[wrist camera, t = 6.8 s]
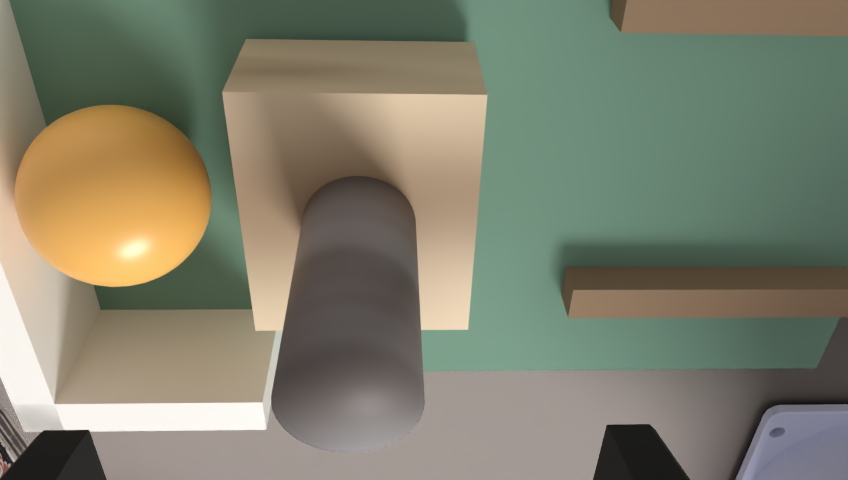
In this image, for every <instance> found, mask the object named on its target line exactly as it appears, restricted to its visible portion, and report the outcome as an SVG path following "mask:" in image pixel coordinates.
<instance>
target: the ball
mask: <svg viewBox="0 0 848 480" xmlns="http://www.w3.org/2000/svg"><path fill="white" fill-rule="evenodd" d="M211 204H212V193H211V184H210V179H209V175H208V172H207V169H206V166H205V164H204V161H203V159H202V157H201V155H200V154H199V152H198V151H197V149H196V148H195V146H194V145H193V143H192V142H191V141H190V140H189V139H188V138H187V137H186V136H185V135H184V134H183V133H182V131H180V130H179V129H178V128H176V127H175V126H174V125H173V124H171V123H170V122H168V121H167V120H165V119H163V118H161V117H160V116H157V115H155V114H153V113H151V112H148V111H145V110H143V109H139V108H135V107H130V106H124V105H97V106H92V107H87V108H83V109H79V110H77V111H74V112H72V113H69V114H67V115H64V116H63V117H61V118H59V119H57V120H56V121H54V122H53V123H52V124H50V125H49V126H48V127H46V128H45V129H44V130H43V131H42V132H41V133H40V134H39V135H38V136H37V137H36V138H35V139H34V141H33V142H32V143H31V144H30V146H29V148H28V149H27V151H26V152H25V154H24V156H23V158H22V161H21V163H20V166H19V169H18V172H17V177H16V182H15V206H16V211H17V215H18V219H19V222H20V225H21V227H22V230H23V232H24V234H25V235H26V237H27V239H28V240H29V242H30V243H31V245H32V247H33V248H34V249H35V250H36V251H37V252H38V254H39V255H40V256H41V257H42V258H43V259H44V260H45V261H47V262H48V263H49V264H50V265H52V266H53V267H54V268H56V269H57V270H59V271H60V272H62V273H64V274H66V275H68V276H70V277H72V278H74V279H76V280H79V281H82V282H86V283H89V284H93V285H99V286H108V287H121V286H132V285H137V284H141V283H146V282H149V281H151V280H154V279H156V278H159V277H161V276H163V275H165V274H167V273H168V272H170V271H171V270H173V269H174V268H176V267H177V266H178V265H180V264H181V263H182V262H183V261H184V260H185V259H186V258H187V257H188V256H189V255H190V254H191V253H192V252H193V250H194V249H195V248H196V246H197V245H198V243H199V242H200V240H201V238H202V236H203V234H204V232H205V230H206V227H207V224H208V221H209V217H210V212H211Z"/></svg>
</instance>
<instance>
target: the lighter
mask: <svg viewBox="0 0 848 480" xmlns="http://www.w3.org/2000/svg"><path fill="white" fill-rule="evenodd" d="M28 446H29V445H28V443H27V441H26V439H25V438H24V437H23V435H22V434H21V432H20V431H19V429H18V428H17V426H16V425H15V423H14V422H13V421H12V419H11V418H10V416H9V415H8V413H7V412H6V410H5V409H4V408H3V407H2V406H1V405H0V478H1V476H2V475H3V474H4V473H5V472H6V471H7V470H8V469H9V467H10V466H11V465H12V464H13V463H14V462H15V461H16V460H17V458H18V457H19V456H20V455H21V454H22V453H23V452H24V451H25V449H26V448H27V447H28Z"/></svg>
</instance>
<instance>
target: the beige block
mask: <svg viewBox="0 0 848 480" xmlns="http://www.w3.org/2000/svg"><path fill="white" fill-rule="evenodd" d="M222 95H223V103H224V110H225V117H226V124H227V131H228V138H229V145H230V153H231V160H232V167H233V174H234V181H235V188H236V195H237V203H238V210H239V217H240V224H241V231H242V238H243V245H244V253H245V260H246V267H247V274H248V281H249V288H250V295H251V302H252V310H253V317H254V324H255V331H283V332H282V337H281V343H280V349H279V354H278V360H277V366H276V371H275V377H274V383H273V388H272V395H271V405H272V409H273V412H274V414H275V417H276V419H277V420H278V422H279V423H280V424H281V426H282V427H283V428H284V429H285V430H286V431H287V432H288V433H289V434H291V435H292V436H293V437H295V438H296V439H298V440H300V441H302V442H303V443H305V444H308V445H310V446H313V447H316V448H319V449H322V450H327V451H332V452H340V453H358V452H366V451H372V450H376V449H380V448H383V447H386V446H388V445H390V444H393V443H395V442H397V441H398V440H400V439H402V438H403V437H404V436H406V435H407V434H408V433H409V432H410V431H411V430H412V429H413V428H414V427H415V426H416V424H417V423H418V422H419V420H420V418H421V416H422V413H423V410H424V403H425V400H424V380H423V359H422V339H421V330H468V324H469V312H470V300H471V288H472V276H473V264H474V252H475V239H476V227H477V215H478V203H479V191H480V179H481V167H482V155H483V143H484V131H485V118H486V106H487V91H486V87H485V83H484V79H483V75H482V71H481V67H480V64H479V60H478V56H477V52H476V48H475V44H474V42H435V41H361V40H287V39H246V40H245V42H244V44H243V47H242V49H241V51H240V53H239V56H238V58H237V60H236V62H235V64H234V67H233V69H232V71H231V73H230V75H229V78H228V80H227V82H226V84H225V87H224V89H223V91H222Z"/></svg>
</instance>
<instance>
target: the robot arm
mask: <svg viewBox="0 0 848 480" xmlns="http://www.w3.org/2000/svg"><path fill="white" fill-rule="evenodd" d="M0 480H106V477H105V474H104V471H103V469H102V466H101V463H100V460H99V457H98V454H97V451H96V449H95V446H94V443H93V440H92V437H91V434H90V432H89V430H44V431H43V432H41V433H40V434H39V435H38V436H37V437H36V438H35V439H34V441H33V442H32V443H31V444H30V445H29V446H28V447H27V448H26V449H25V451H24V452H23V453H22V454H21V455H20V456H19V457H18V458H17V460H16V461H15V462H14V463H13V464H12V465H11V466H10V467H9V469H8V470H7V471H6V472H5V473H4V474H3V475H2V476H1V478H0ZM593 480H690V479H689V477H688V476H687V475H686V473H685V472H684V470H683V469H682V468H681V466H680V465H679V463H678V462H677V460H676V459H675V458H674V456H673V455H672V453H671V452H670V450H669V449H668V448H667V446H666V445H665V443H664V442H663V440H662V439H661V438H660V436H659V435H658V433H657V432H656V430H655V429H654V428H653V427H652V426H651V425H650V424H636V425H607V427H606V431H605V435H604V439H603V443H602V447H601V451H600V455H599V459H598V462H597V466H596V470H595V474H594V478H593ZM736 480H848V404H825V405H776V406H773V407H771V408H769V409H768V410H767V411H766V412H765V413H764V415H763V417H762V419H761V421H760V424H759V426H758V428H757V431H756V433H755V435H754V438H753V440H752V442H751V445H750V447H749V449H748V452H747V454H746V456H745V459H744V461H743V463H742V466H741V468H740V470H739V473H738V475H737V477H736Z"/></svg>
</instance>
